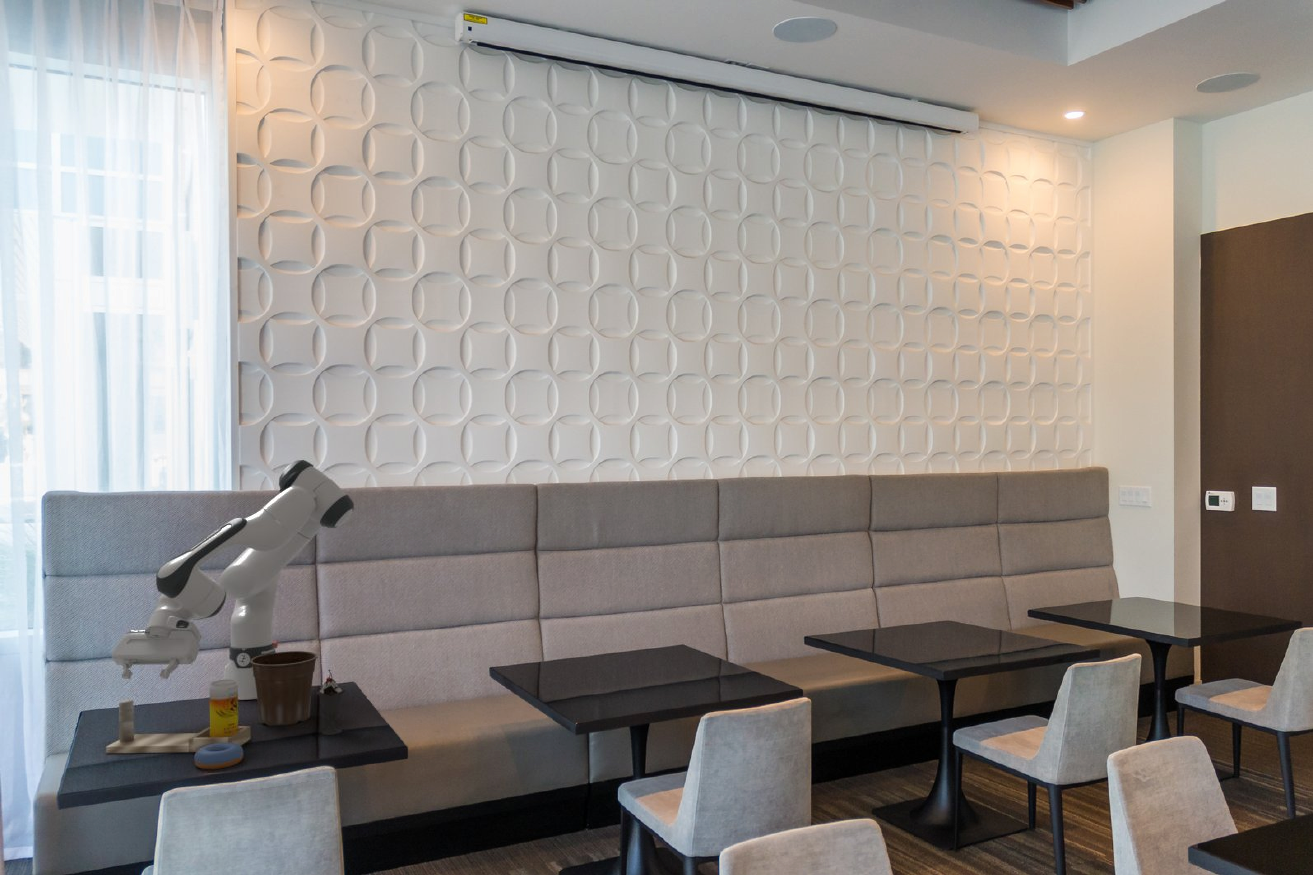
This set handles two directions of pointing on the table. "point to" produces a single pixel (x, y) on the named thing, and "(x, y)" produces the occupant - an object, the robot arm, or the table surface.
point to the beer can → (223, 708)
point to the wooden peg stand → (165, 737)
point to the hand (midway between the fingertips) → (144, 677)
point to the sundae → (331, 703)
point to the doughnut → (218, 755)
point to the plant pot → (284, 686)
